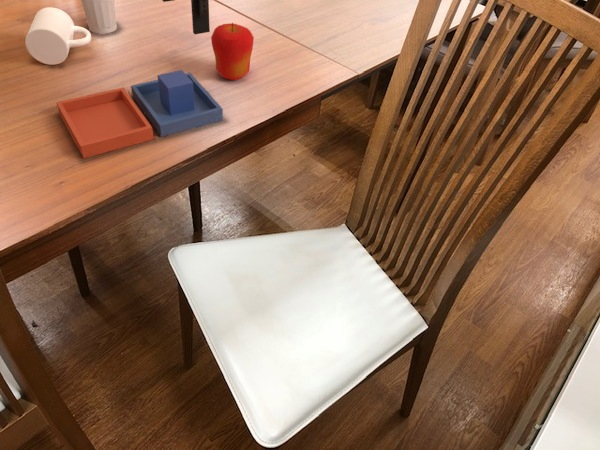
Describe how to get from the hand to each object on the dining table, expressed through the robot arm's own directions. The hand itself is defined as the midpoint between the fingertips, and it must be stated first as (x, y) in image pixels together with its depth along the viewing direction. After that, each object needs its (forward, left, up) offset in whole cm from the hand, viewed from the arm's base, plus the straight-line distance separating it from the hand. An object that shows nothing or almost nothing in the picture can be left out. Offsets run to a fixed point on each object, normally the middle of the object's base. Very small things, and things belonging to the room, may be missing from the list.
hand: (185, 15), depth 89 cm
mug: (-28, -17, -18) cm, 37 cm away
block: (+1, -3, -17) cm, 17 cm away
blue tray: (+1, -4, -18) cm, 18 cm away
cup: (-37, -6, -18) cm, 41 cm away
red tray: (+1, -18, -18) cm, 25 cm away
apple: (-6, +12, -18) cm, 22 cm away
